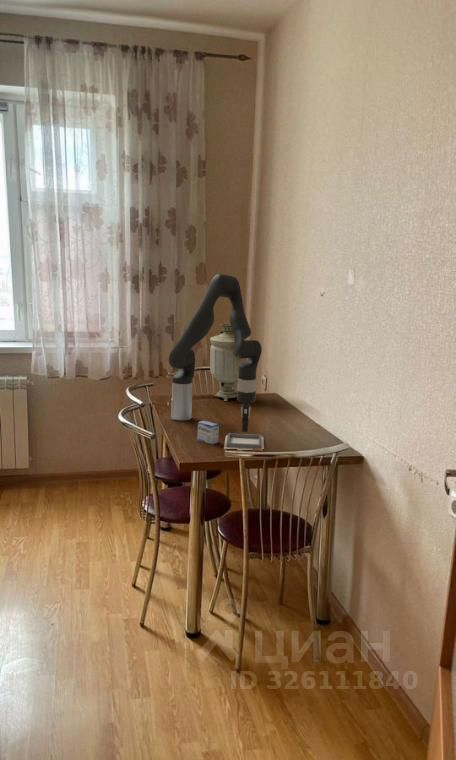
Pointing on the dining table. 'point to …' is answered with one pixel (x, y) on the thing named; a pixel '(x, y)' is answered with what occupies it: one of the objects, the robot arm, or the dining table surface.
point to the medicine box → (208, 432)
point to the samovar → (225, 361)
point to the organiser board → (243, 441)
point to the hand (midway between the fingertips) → (244, 429)
